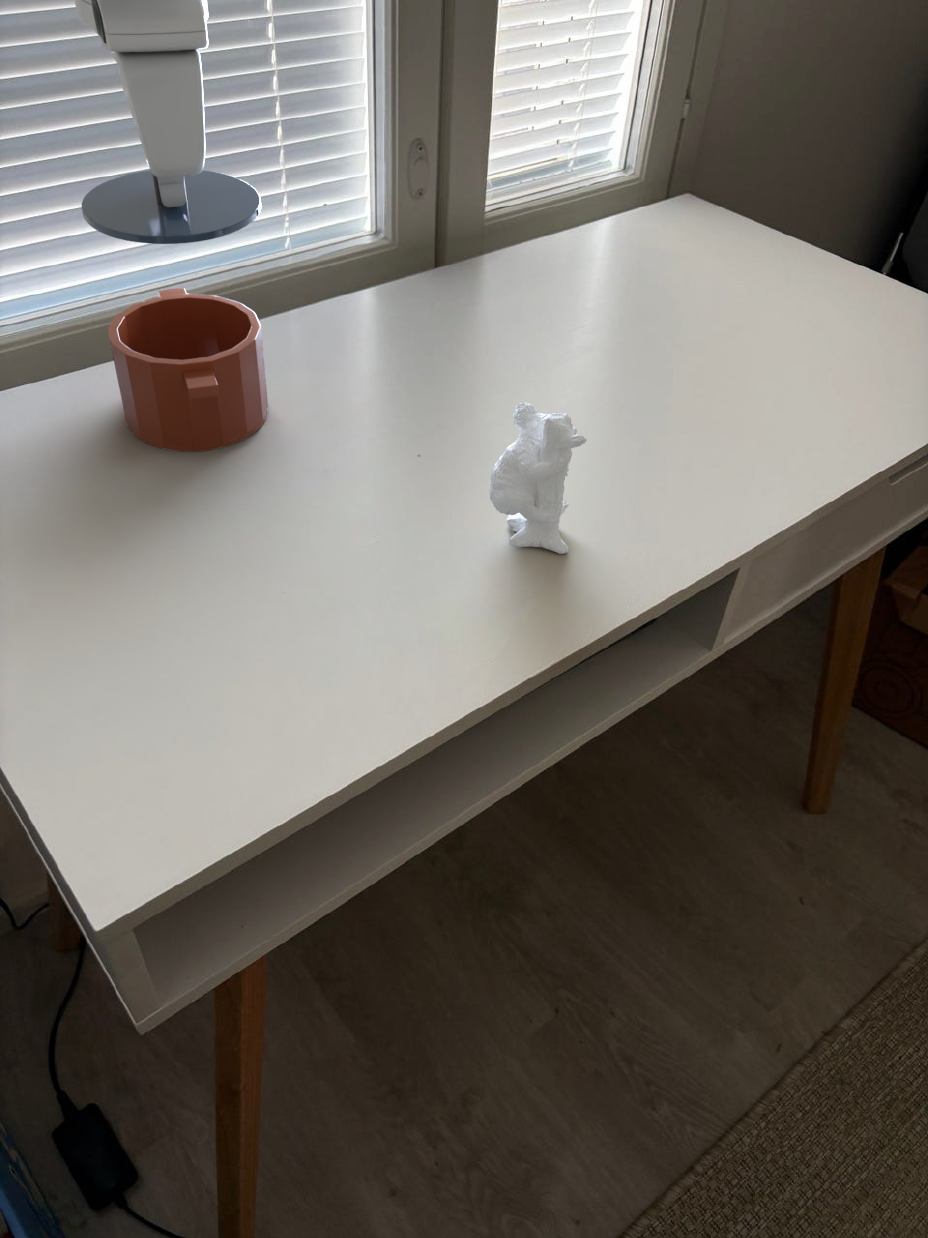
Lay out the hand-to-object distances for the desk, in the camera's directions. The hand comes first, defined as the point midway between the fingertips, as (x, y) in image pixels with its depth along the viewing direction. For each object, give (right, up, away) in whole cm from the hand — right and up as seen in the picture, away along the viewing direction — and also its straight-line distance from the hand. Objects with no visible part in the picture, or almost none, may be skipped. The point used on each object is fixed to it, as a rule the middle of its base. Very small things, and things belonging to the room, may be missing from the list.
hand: (170, 194), depth 79 cm
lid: (0, -1, +1) cm, 1 cm away
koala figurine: (+29, -26, +3) cm, 39 cm away
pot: (-2, -14, +14) cm, 20 cm away
